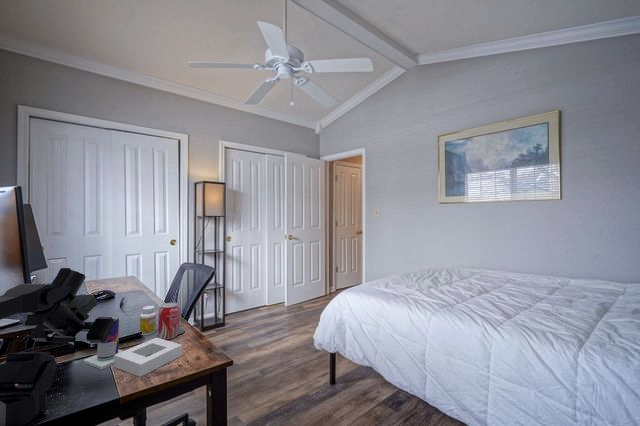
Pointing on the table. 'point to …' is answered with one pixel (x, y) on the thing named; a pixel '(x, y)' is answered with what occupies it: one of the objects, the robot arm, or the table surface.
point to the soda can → (168, 321)
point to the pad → (99, 362)
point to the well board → (140, 364)
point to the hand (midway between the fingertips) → (90, 341)
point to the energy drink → (110, 343)
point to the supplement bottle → (148, 320)
